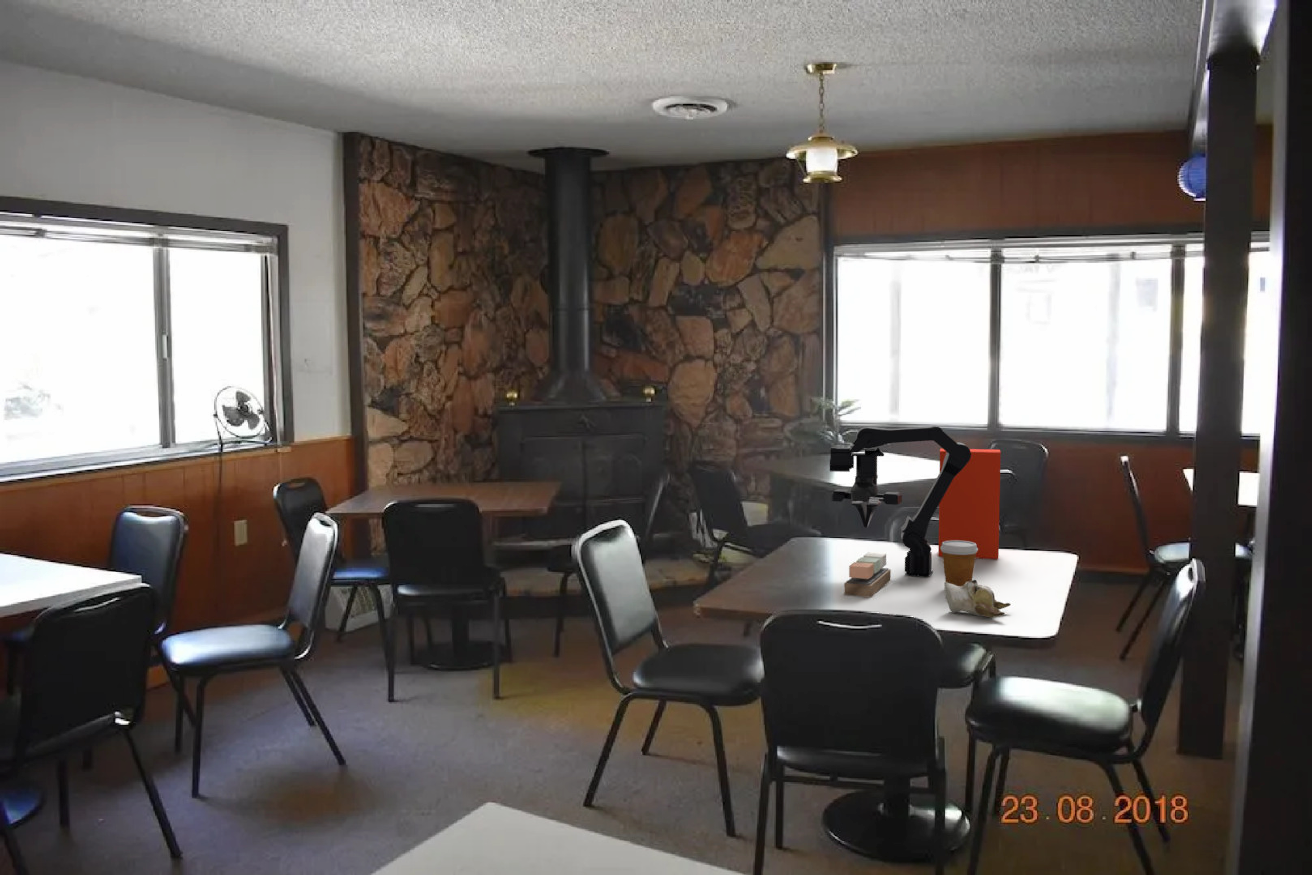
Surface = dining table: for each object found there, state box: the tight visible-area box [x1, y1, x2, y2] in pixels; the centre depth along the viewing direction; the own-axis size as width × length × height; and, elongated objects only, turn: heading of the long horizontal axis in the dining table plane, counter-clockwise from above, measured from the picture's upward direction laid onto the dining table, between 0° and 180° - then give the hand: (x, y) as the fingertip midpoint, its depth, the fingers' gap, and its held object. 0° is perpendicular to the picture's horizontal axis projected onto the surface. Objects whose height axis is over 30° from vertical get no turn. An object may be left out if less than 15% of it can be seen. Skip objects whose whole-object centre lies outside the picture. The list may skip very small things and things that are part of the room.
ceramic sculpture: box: [944, 579, 1012, 618], centre depth 256 cm, size 11×9×15 cm
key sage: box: [855, 556, 880, 574], centre depth 285 cm, size 5×5×3 cm
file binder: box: [937, 448, 1002, 560], centre depth 324 cm, size 8×17×32 cm, turn 74°
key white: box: [862, 551, 887, 568], centre depth 291 cm, size 5×5×3 cm
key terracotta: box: [848, 561, 873, 579], centre depth 278 cm, size 5×5×3 cm
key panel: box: [843, 567, 892, 598], centre depth 285 cm, size 7×21×3 cm, turn 154°
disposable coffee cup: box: [940, 540, 978, 586], centre depth 282 cm, size 10×10×12 cm
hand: (866, 527), depth 301 cm, fingers closed
